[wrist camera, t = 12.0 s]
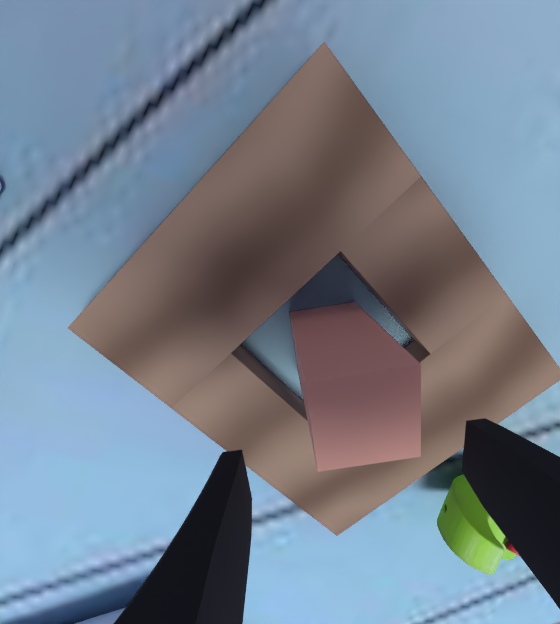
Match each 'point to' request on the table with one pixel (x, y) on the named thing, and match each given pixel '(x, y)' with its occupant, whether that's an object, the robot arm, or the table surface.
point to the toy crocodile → (472, 529)
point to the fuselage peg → (356, 388)
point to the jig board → (295, 274)
